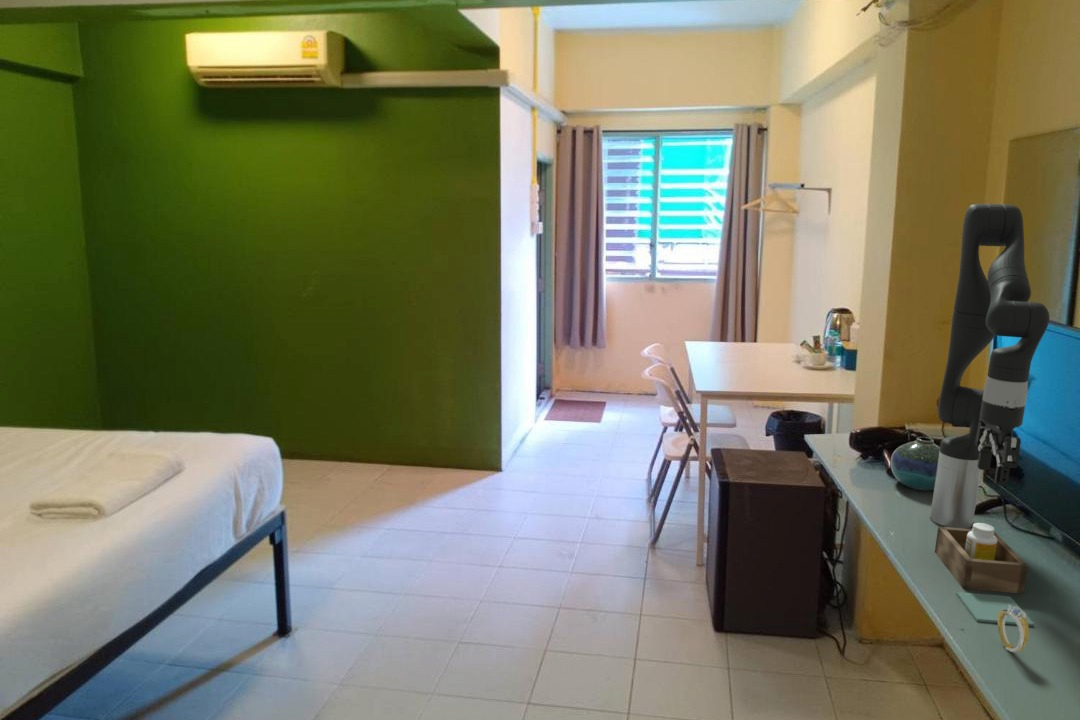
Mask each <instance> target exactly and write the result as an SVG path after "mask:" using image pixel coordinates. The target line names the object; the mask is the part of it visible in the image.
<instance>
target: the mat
mask: <svg viewBox="0 0 1080 720" xmlns="http://www.w3.org/2000/svg"><path fill="white" fill-rule="evenodd" d="M955 595H956V596H957V598H958V599H959V598H960V599H959V600H960V601H961V603H962V602H963V603H962V604H963V605H964V606H966V607H965V608H966V609H967V611H968V612H969V614H971V616H972V618H973V619H974V620H975V622H979V623H980V622H982V623H990V624H991V623H993V624H998V613H999V611H1001V610H1006V609H1009V605H1011V608H1013V607H1017V608H1018V609H1019V608H1020V609H1021V611H1023V609H1022V608H1021V607H1020V606H1019V605H1018V604H1017V603H1016V601H1015V600H1014V599H1013V597H1012V596H1008V595H1007V596H1006V595H996V594H986V593H984V594H983V593H975V592H961V591H956V594H955ZM1023 612H1024V611H1023ZM1021 616H1022V615H1021ZM1026 620H1027V623H1028V627H1034V626H1035V622H1033V621H1032V620H1031V618H1030V617H1029V616H1028V615H1027V614H1026ZM1019 621H1020V619H1019ZM1020 622H1021V621H1020ZM1005 625H1013V626H1014V625H1016V626H1017V624H1016V622H1015V621H1014V620H1013V619H1012V618H1011V617H1010V616H1009V615H1008V616H1007V618H1006V621H1005Z"/></svg>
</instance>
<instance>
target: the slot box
mask: <svg viewBox="0 0 1080 720" xmlns="http://www.w3.org/2000/svg"><path fill="white" fill-rule="evenodd" d="M970 531H972V528H966V529H964V528H951V527H946V526H938V527H937V533H936V541H935V547H934V553H935V554H936V556H937V557H938V558H939V559H940V561H941V562H942V563H943V564H944V566H945V567H946V568H947V570H948V571H949V572H950V574H951V575H952V576H953V577H954V578H955V580H956V581H957V583H958V584H959V585H960V587H961V588H962V589H967V590H978V591H988V592H990V591H991V592H1003V593H1013V594H1024V593H1025V588H1026V582H1027V577H1028V576H1027V575H1028V570H1029V565H1028V564H1027V563H1026V562H1025V561H1024V560H1023V559H1022V558H1021V557H1020V556H1019V555H1018V554H1017V553H1016V552H1015V551H1014V550H1013V549H1012V547H1010V546H1009V545H1008V544H1007V543H1006V542H1005V541H1004V540H1003V539H1002V538H1001V537H1000V536H999V534H997V533H996V532H995V531H994V536H995V537H996V538H997V546H996V553H995V559H994V561H993V560H981V559H971V558H970V557H969V555H968V554H967V553H966V552H965V546H966V539H967V534H968V532H970Z"/></svg>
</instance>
